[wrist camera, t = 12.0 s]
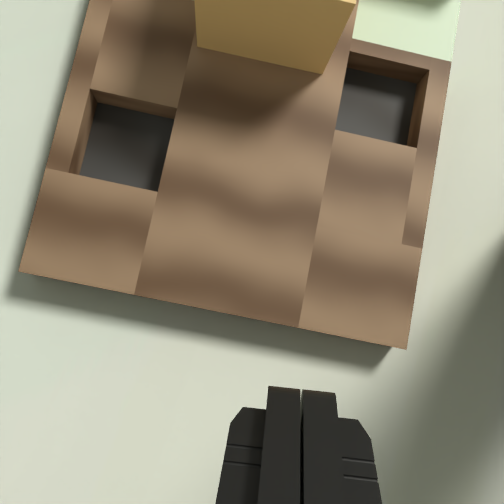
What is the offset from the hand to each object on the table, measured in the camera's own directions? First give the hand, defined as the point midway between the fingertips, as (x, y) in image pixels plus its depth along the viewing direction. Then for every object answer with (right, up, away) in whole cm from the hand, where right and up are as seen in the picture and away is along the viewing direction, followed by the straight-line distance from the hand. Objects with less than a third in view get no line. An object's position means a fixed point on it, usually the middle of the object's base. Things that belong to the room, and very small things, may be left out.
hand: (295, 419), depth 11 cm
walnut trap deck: (-1, +13, +25) cm, 28 cm away
